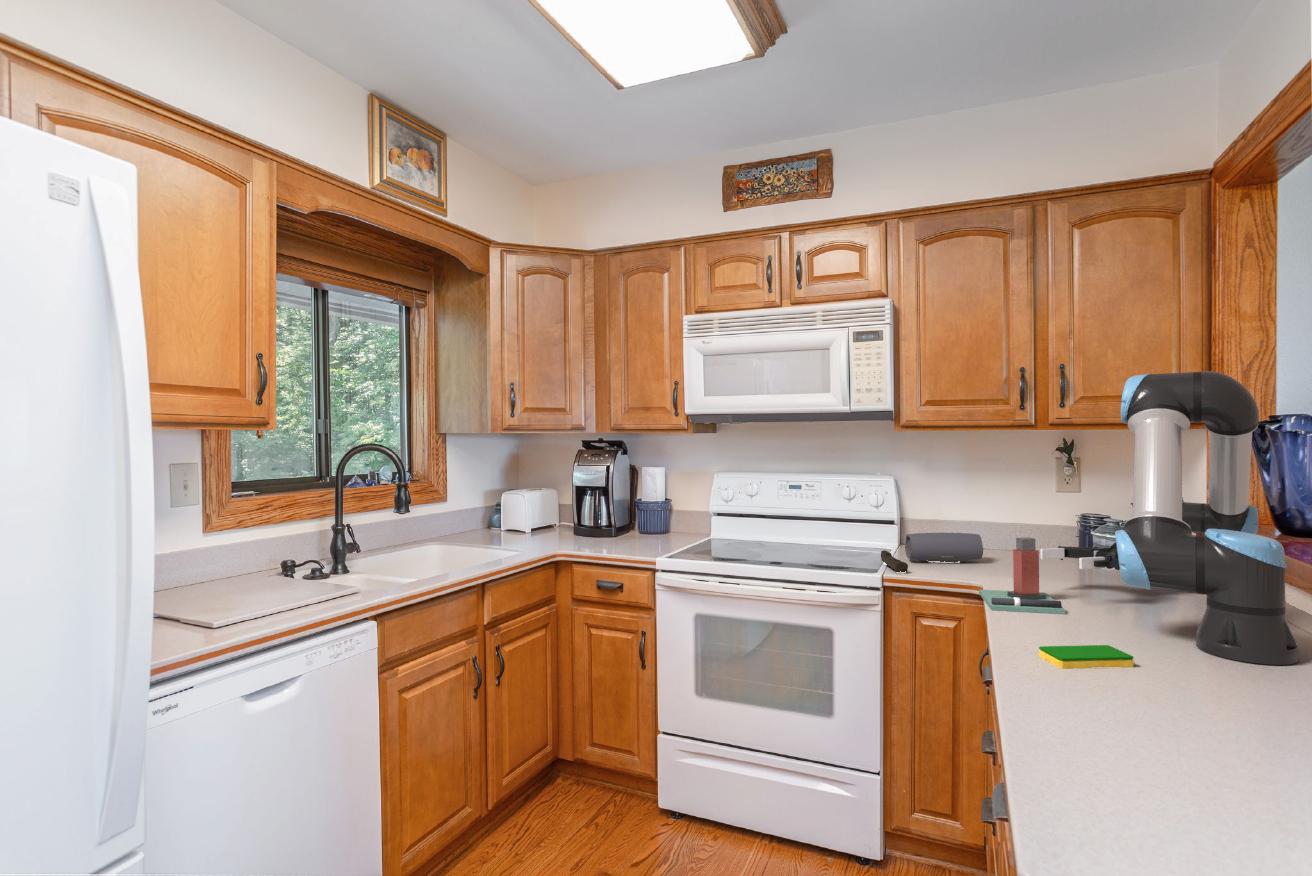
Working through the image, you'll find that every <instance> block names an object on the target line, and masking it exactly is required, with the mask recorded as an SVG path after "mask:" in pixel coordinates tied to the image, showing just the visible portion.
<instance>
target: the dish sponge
mask: <svg viewBox="0 0 1312 876" xmlns="http://www.w3.org/2000/svg"><path fill="white" fill-rule="evenodd" d="M1038 649H1039V650H1038V656H1039V657H1038V658H1040V659H1042V660H1044V661H1046V662H1047V663H1049V664H1051V665H1053V666H1055V667H1057V669H1058V668H1059V669H1062V670H1067V669H1071V670H1072V669H1074V668H1077V669H1092V668H1091V667H1123V668H1134V667H1133V666H1135V665H1134V656H1133V655H1131V654H1129V653H1127V652H1124V651H1122V650H1120V649H1117V648H1116V647H1113V646H1111V645H1108V644H1103V645H1102V644H1099V645H1097V644H1096V645H1094V644H1093V645H1091V644H1090V645H1087V644H1086V645H1058V646H1057V645H1051V646H1050V645H1046V646H1045V645H1043V646H1038Z"/></svg>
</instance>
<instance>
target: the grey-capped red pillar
mask: <svg viewBox="0 0 1312 876" xmlns="http://www.w3.org/2000/svg"><path fill="white" fill-rule="evenodd" d="M1015 544H1016V545H1015V546H1016V547H1015V548H1013V550H1012V558H1013V559H1012V560H1013V561H1012V563H1013V568H1012V569H1013V570H1012V571H1013V574H1012V575H1013V576H1012V577H1013V580H1012V581H1013V590H1006V591H1007V596H1009V597H1012V598H1014V597H1016V598H1020V599H1031V600H1042V599H1046V594H1047V593H1046V594H1043V593H1044V592H1042V593H1039V592H1040V550H1037V549H1036V538H1034V537H1016V538H1015Z"/></svg>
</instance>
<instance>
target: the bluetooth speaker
mask: <svg viewBox="0 0 1312 876" xmlns="http://www.w3.org/2000/svg"><path fill="white" fill-rule="evenodd" d="M983 545H984V544H983V539H982V537H981V535H980V534H978V533H967V532H966V533H965V532H964V533H963V532H921V533H919V532H917V533H908V534H906V535H905V543H904V551H905V555H906V558H907V559H909V560H915V561H926V560H928V561H940V562H944V561H945V562H958V561H961V562H962V561H972V560H973V561H975V560H981V559H983V555H984V546H983Z"/></svg>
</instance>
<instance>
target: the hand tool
mask: <svg viewBox="0 0 1312 876" xmlns="http://www.w3.org/2000/svg"><path fill="white" fill-rule="evenodd" d="M880 560H881V562H882V561H883V562H885V563H886V564H887V565H888V566H890V567H891V568H890V567H889V568H890V569H892V570H893V569H894V570H893V571H894V572H895V573H896V572H900V571H901V572H905V571H906V572H907V573H908V568H909V565H908V563H907V562H904V561H901V559H897V558H896V557H894V556H892V553H891V552H889V551H887V550H882V551H880ZM888 566H887V567H888Z"/></svg>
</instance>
